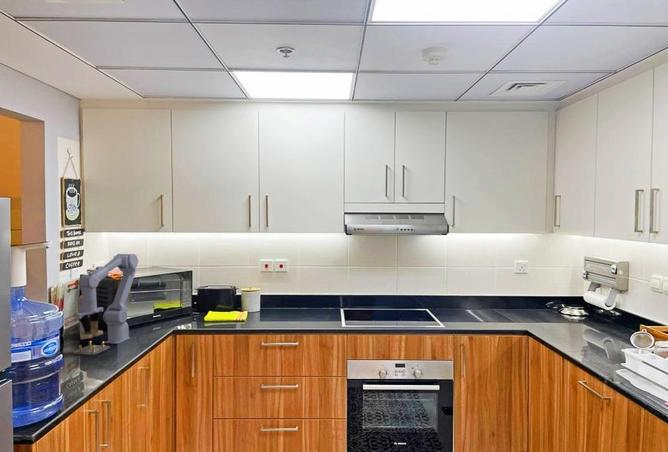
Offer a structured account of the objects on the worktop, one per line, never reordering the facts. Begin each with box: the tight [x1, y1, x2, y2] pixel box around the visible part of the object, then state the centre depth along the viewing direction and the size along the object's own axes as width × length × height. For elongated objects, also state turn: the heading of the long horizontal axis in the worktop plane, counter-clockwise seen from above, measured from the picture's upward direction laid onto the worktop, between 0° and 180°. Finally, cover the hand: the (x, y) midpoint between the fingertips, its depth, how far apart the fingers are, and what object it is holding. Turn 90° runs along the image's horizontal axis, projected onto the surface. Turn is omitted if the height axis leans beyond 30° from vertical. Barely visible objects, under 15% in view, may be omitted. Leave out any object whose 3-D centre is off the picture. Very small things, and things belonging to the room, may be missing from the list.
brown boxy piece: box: [79, 321, 104, 338], centre depth 207 cm, size 8×9×6 cm
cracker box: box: [77, 294, 94, 340], centre depth 233 cm, size 14×6×21 cm, turn 23°
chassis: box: [73, 340, 111, 356], centre depth 207 cm, size 10×11×4 cm
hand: (90, 330), depth 207 cm, fingers closed on brown boxy piece, 4 cm apart
